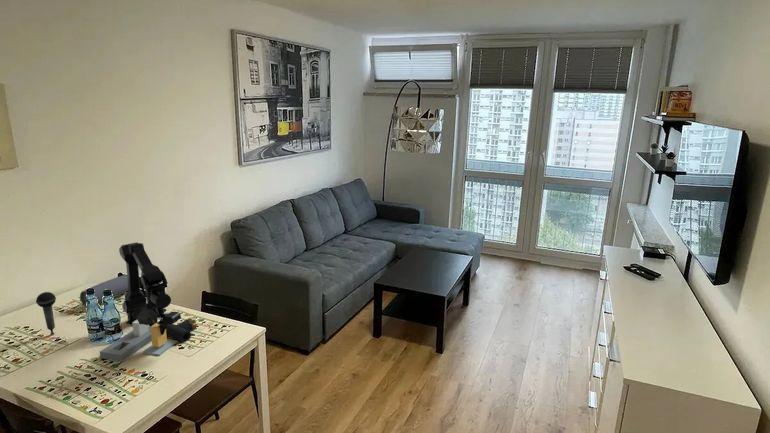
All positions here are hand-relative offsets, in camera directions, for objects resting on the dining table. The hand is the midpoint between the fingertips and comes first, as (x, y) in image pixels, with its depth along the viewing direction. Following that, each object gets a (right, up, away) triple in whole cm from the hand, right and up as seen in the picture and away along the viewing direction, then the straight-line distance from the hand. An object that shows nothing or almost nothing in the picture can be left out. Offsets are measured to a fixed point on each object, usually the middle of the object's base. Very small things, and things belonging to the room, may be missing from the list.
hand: (158, 334), depth 183 cm
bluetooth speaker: (-48, +6, +43) cm, 64 cm away
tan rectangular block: (0, -4, +1) cm, 5 cm away
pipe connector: (+4, -4, +13) cm, 14 cm away
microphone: (-51, -3, +8) cm, 52 cm away
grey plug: (-11, -4, +7) cm, 14 cm away
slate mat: (0, -6, +2) cm, 6 cm away
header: (-12, -5, +2) cm, 14 cm away
